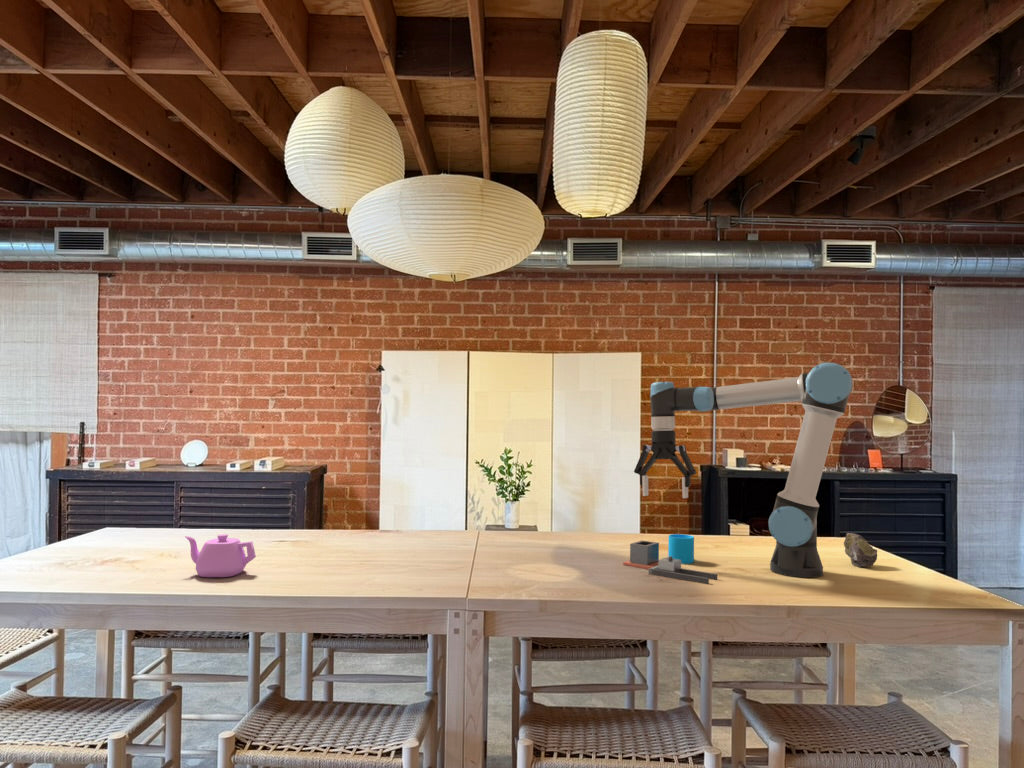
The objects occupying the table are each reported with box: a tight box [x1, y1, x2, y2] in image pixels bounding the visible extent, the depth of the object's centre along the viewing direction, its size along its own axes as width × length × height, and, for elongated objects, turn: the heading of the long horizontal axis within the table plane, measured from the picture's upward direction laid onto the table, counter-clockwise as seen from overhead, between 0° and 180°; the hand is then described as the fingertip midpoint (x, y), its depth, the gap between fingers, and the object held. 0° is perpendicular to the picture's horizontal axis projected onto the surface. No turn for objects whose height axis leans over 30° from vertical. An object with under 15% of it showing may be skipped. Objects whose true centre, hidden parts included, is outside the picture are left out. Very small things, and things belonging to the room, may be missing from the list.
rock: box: [843, 532, 878, 568], centre depth 222 cm, size 11×10×10 cm
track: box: [648, 566, 718, 585], centre depth 202 cm, size 18×8×2 cm, turn 52°
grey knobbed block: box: [658, 555, 682, 573], centre depth 205 cm, size 5×5×5 cm
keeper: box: [622, 559, 658, 570], centre depth 218 cm, size 10×10×6 cm
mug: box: [667, 533, 695, 565], centre depth 226 cm, size 12×8×8 cm
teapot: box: [184, 533, 257, 578], centre depth 195 cm, size 13×20×11 cm
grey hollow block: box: [629, 540, 660, 566], centre depth 218 cm, size 6×8×6 cm
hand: (665, 496), depth 218 cm, fingers open, 13 cm apart
